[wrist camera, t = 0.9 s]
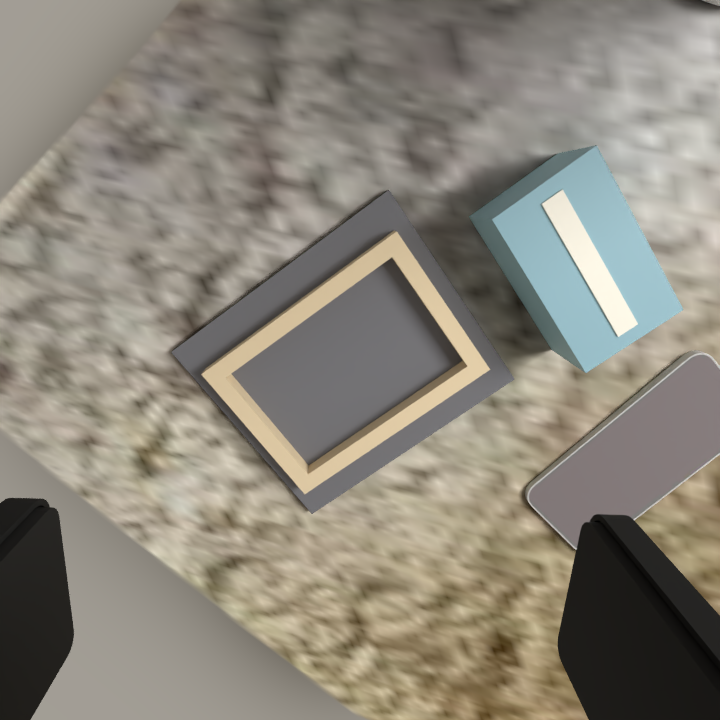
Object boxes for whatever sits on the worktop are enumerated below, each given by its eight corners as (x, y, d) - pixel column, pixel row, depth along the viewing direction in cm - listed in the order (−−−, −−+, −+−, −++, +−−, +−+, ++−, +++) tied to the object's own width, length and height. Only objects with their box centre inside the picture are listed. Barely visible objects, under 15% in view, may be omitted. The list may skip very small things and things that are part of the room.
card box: (467, 216, 31) (492, 219, 27) (555, 154, 31) (597, 145, 26) (550, 348, 34) (586, 373, 29) (633, 294, 33) (684, 310, 28)
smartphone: (520, 495, 36) (703, 345, 34) (515, 488, 37) (693, 341, 35) (584, 559, 38) (763, 421, 35) (579, 551, 39) (753, 415, 36)
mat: (387, 190, 31) (391, 189, 29) (512, 376, 34) (521, 385, 33) (173, 350, 33) (165, 357, 31) (312, 509, 36) (311, 524, 35)
